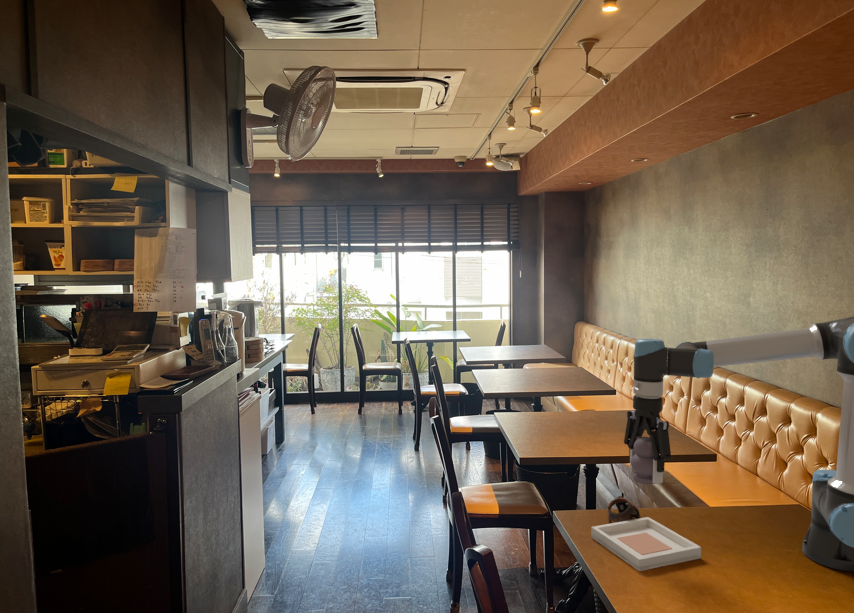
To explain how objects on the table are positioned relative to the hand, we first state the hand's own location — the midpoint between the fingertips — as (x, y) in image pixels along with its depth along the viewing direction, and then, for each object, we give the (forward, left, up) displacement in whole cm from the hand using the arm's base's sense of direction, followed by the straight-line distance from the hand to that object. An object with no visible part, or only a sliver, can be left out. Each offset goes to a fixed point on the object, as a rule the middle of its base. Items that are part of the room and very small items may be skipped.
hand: (645, 477), depth 156 cm
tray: (0, 0, -20) cm, 20 cm away
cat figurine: (0, 0, -1) cm, 1 cm away
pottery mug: (+16, -6, -20) cm, 26 cm away
